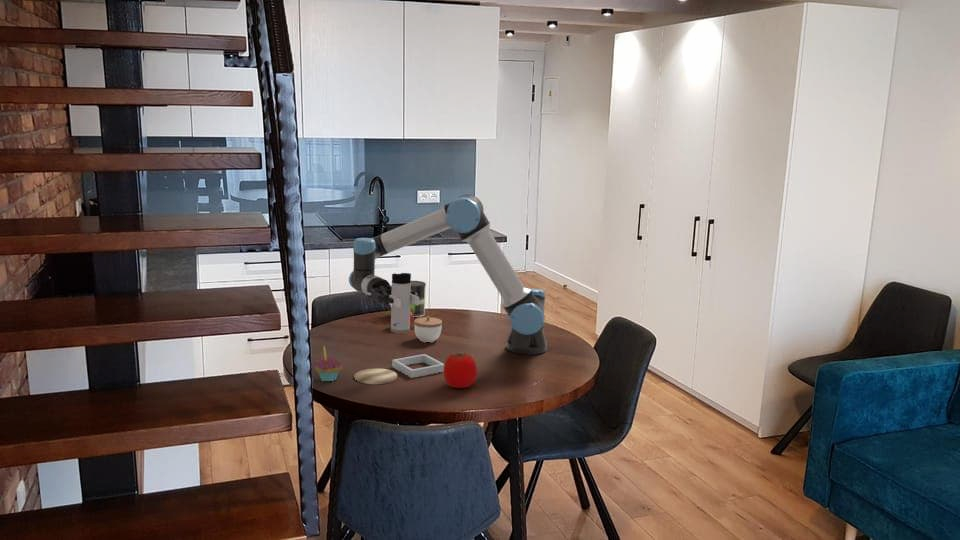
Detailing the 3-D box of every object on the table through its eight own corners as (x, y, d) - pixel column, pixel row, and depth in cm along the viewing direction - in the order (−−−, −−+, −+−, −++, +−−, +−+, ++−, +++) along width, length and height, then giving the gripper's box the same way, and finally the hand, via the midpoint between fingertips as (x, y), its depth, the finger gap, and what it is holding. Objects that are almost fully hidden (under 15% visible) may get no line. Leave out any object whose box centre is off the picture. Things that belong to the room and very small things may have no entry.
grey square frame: (424, 360, 260) (424, 354, 259) (444, 371, 249) (445, 364, 249) (392, 366, 252) (392, 359, 252) (411, 378, 242) (411, 370, 241)
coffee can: (419, 318, 314) (420, 286, 311) (397, 316, 317) (398, 284, 314) (428, 313, 324) (429, 281, 321) (406, 310, 327) (407, 279, 324)
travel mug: (394, 334, 241) (396, 274, 237) (388, 329, 247) (389, 270, 243) (412, 332, 244) (414, 273, 240) (405, 327, 250) (407, 269, 245)
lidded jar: (440, 345, 279) (441, 321, 277) (412, 343, 279) (412, 319, 277) (442, 336, 289) (443, 313, 287) (415, 335, 289) (415, 312, 287)
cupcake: (328, 385, 232) (328, 349, 230) (309, 380, 236) (308, 344, 234) (347, 378, 239) (347, 342, 237) (328, 373, 244) (327, 338, 241)
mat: (405, 375, 244) (405, 373, 244) (380, 387, 232) (380, 385, 232) (371, 367, 251) (371, 365, 251) (345, 378, 239) (345, 377, 239)
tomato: (480, 391, 233) (481, 358, 230) (447, 393, 230) (448, 360, 227) (471, 379, 242) (472, 348, 240) (439, 381, 239) (440, 349, 237)
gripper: (400, 295, 264) (433, 310, 245) (351, 300, 253) (382, 316, 234) (400, 274, 262) (434, 288, 244) (351, 279, 251) (382, 293, 233)
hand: (408, 302), depth 239 cm, fingers closed on travel mug, 6 cm apart
